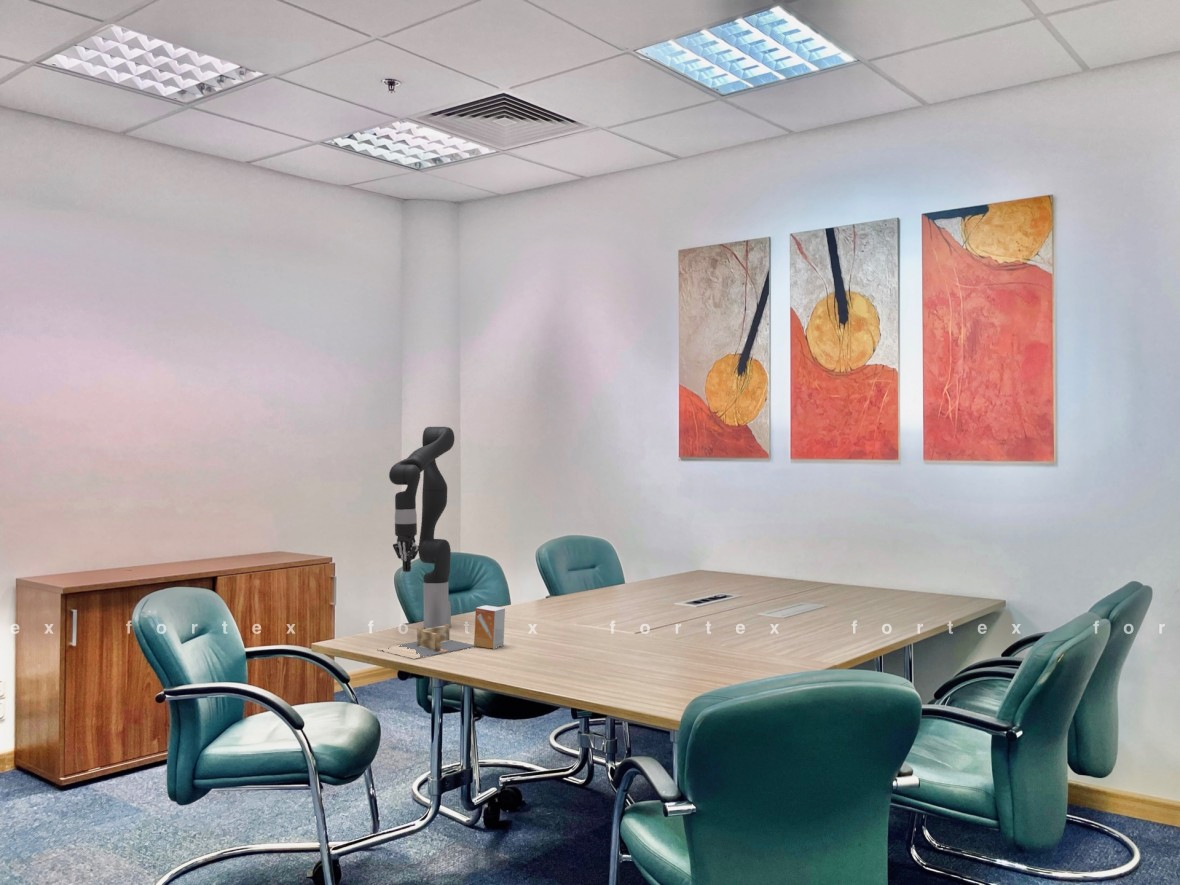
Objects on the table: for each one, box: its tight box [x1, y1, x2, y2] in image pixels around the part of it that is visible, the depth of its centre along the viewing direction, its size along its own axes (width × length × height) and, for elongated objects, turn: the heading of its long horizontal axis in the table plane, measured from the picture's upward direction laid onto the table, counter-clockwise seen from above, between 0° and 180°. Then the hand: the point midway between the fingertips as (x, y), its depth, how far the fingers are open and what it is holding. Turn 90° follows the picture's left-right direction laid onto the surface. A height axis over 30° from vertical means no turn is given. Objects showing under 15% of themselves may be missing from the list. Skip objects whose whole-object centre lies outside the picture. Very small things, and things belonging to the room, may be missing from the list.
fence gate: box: [420, 630, 441, 650], centre depth 325 cm, size 11×2×5 cm, turn 41°
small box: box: [473, 604, 506, 649], centre depth 330 cm, size 8×6×13 cm
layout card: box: [388, 639, 477, 657], centre depth 327 cm, size 26×21×1 cm
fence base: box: [416, 624, 450, 646], centre depth 334 cm, size 13×2×6 cm, turn 136°
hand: (406, 571), depth 339 cm, fingers closed
